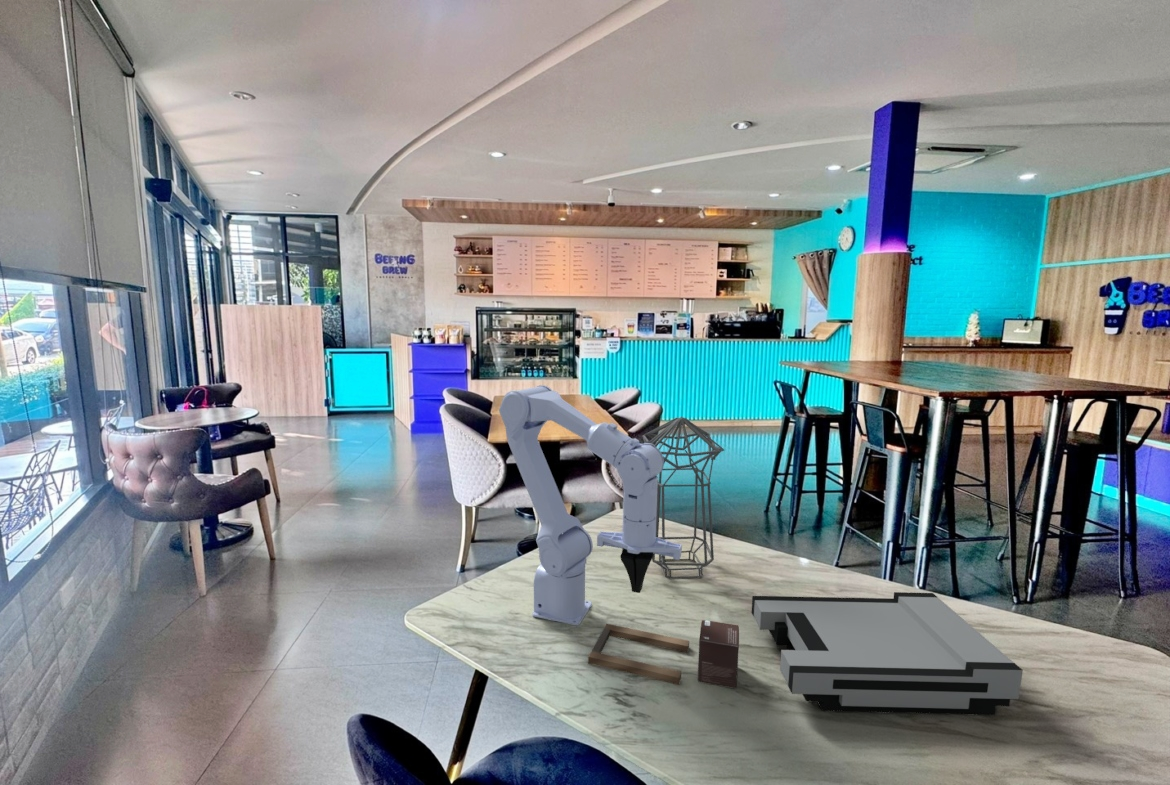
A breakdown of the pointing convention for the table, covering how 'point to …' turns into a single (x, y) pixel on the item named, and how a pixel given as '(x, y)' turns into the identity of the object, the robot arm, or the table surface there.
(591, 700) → the table surface
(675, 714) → the table surface
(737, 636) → the box
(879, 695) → the game console
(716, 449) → the geometric lantern
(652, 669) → the wooden u-shaped frame
